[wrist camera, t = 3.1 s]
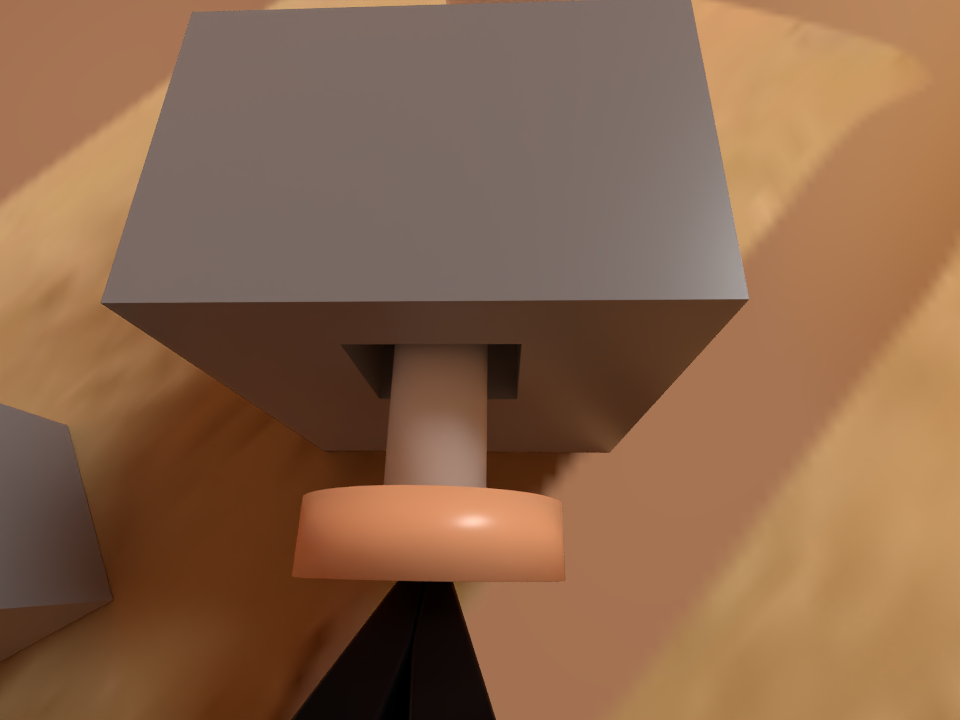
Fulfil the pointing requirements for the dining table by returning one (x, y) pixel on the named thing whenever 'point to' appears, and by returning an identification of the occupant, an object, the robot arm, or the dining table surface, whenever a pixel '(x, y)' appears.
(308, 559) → the terracotta button
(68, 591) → the left button box
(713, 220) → the right button box
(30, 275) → the dining table surface
